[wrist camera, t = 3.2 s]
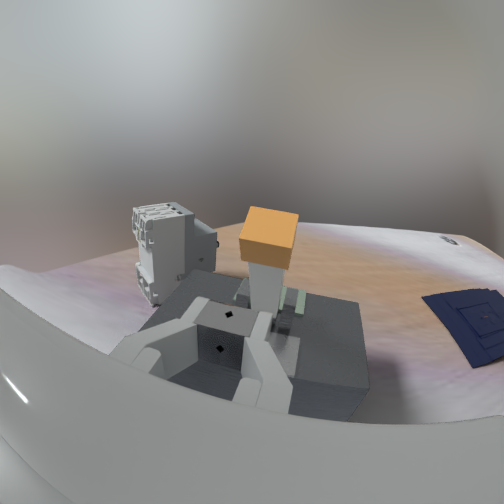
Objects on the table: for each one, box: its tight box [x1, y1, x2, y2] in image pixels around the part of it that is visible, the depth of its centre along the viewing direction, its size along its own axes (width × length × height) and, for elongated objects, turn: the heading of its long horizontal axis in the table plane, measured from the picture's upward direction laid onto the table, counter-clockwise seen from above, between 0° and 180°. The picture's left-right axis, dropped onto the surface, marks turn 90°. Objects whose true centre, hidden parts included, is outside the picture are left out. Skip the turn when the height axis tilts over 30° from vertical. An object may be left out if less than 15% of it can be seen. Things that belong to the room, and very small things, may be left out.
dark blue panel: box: [422, 288, 504, 368], centre depth 43 cm, size 24×30×4 cm
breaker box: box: [138, 269, 370, 422], centre depth 29 cm, size 22×14×14 cm, turn 77°
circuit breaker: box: [132, 202, 219, 307], centre depth 46 cm, size 8×14×15 cm, turn 129°
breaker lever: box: [239, 206, 298, 322], centre depth 23 cm, size 3×3×14 cm
